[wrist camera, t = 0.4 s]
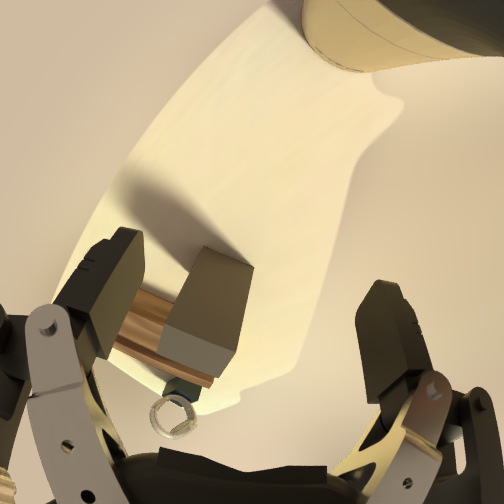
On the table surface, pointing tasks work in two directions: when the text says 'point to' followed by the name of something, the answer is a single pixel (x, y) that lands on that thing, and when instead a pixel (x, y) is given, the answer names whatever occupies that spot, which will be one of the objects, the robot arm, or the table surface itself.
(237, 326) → the tall taupe pillar block
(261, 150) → the table surface
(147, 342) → the wooden channel tray
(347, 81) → the table surface
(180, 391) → the watch
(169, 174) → the table surface
